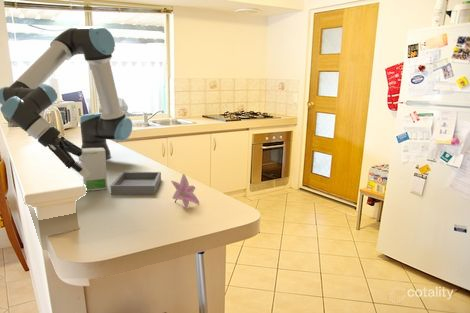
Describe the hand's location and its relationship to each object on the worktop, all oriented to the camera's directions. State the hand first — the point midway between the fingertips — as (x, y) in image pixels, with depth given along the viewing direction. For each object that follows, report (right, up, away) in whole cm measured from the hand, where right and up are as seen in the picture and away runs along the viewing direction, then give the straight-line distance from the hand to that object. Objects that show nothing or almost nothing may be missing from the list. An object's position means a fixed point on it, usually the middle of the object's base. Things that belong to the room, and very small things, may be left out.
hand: (91, 170), depth 131 cm
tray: (+16, -7, +5) cm, 18 cm away
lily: (+38, -12, -12) cm, 41 cm away
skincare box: (+1, -7, +3) cm, 7 cm away
